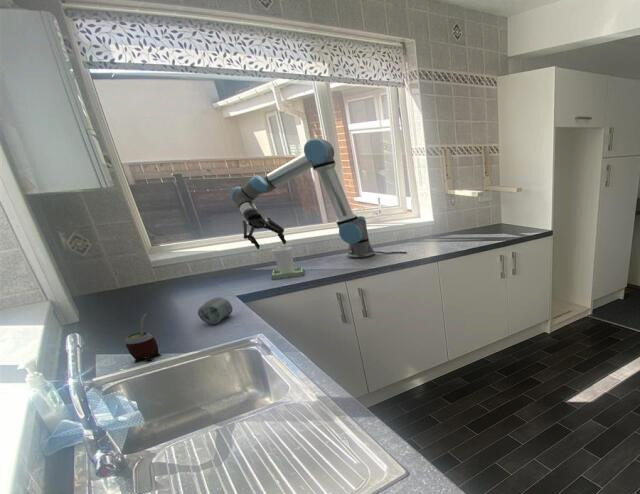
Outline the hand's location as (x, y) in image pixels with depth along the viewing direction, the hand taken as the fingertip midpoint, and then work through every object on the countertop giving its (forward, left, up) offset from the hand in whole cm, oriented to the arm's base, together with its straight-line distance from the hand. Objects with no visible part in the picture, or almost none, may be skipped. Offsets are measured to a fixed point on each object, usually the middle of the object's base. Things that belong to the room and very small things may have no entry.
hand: (272, 245), depth 220 cm
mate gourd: (+33, +100, -14) cm, 106 cm away
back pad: (-5, +10, -14) cm, 18 cm away
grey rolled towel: (+19, +71, -14) cm, 74 cm away
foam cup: (-5, +9, -14) cm, 17 cm away
